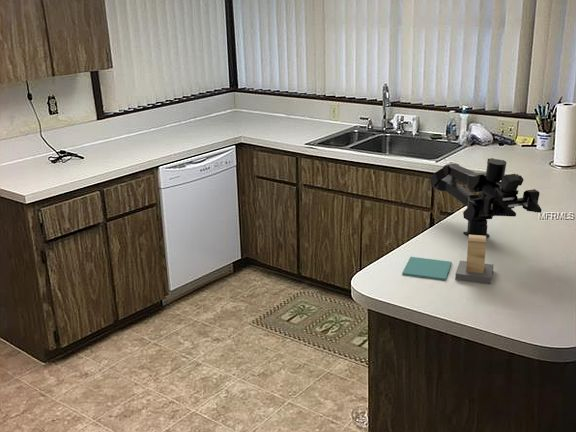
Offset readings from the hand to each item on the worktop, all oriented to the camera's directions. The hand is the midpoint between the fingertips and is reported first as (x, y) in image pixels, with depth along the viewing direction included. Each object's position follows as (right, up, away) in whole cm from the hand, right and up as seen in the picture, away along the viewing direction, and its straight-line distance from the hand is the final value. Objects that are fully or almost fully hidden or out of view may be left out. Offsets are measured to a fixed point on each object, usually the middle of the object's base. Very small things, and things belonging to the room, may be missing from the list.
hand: (528, 213), depth 194 cm
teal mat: (-30, -17, +3) cm, 35 cm away
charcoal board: (-17, -19, -2) cm, 26 cm away
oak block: (-17, -17, -3) cm, 24 cm away
